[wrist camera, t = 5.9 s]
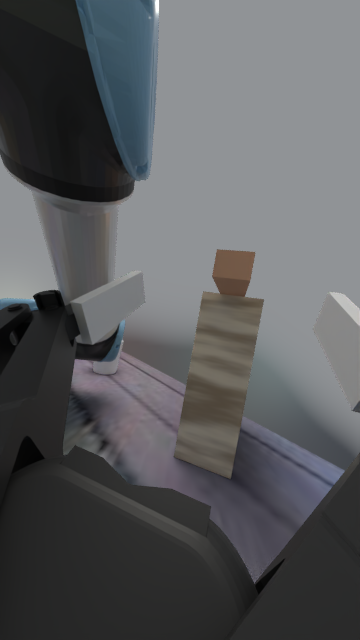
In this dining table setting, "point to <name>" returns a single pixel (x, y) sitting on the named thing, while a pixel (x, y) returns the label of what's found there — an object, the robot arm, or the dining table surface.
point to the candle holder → (107, 365)
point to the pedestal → (218, 381)
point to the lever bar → (233, 271)
